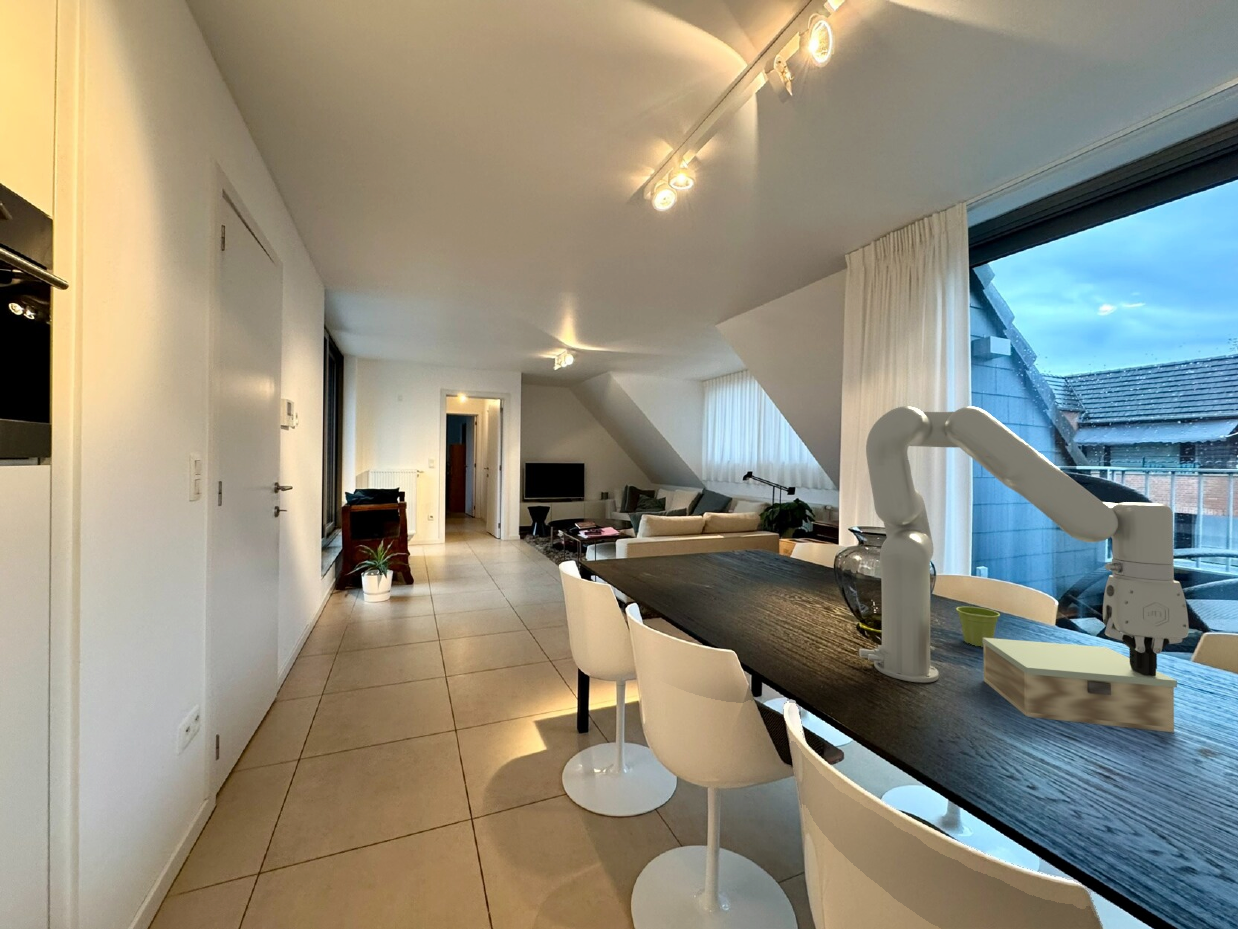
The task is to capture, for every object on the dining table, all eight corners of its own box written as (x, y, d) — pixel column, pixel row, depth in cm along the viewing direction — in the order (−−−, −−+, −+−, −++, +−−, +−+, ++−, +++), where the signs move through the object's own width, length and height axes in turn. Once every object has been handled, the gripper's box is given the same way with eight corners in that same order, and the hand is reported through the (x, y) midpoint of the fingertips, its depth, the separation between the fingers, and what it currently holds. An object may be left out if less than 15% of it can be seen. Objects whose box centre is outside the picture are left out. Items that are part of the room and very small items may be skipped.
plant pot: (952, 643, 128) (952, 610, 128) (961, 635, 135) (960, 604, 135) (996, 653, 121) (996, 618, 122) (1003, 644, 128) (1003, 611, 128)
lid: (1026, 674, 89) (1026, 667, 89) (982, 643, 105) (982, 637, 105) (1177, 687, 84) (1177, 680, 84) (1106, 652, 100) (1106, 647, 100)
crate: (1028, 717, 89) (1028, 674, 89) (983, 680, 105) (983, 643, 105) (1176, 733, 84) (1176, 687, 84) (1105, 692, 100) (1105, 653, 100)
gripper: (1107, 572, 86) (1108, 676, 85) (1214, 577, 82) (1215, 686, 82) (1078, 564, 93) (1079, 660, 93) (1174, 569, 89) (1175, 668, 89)
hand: (1143, 672), depth 87 cm, fingers closed
